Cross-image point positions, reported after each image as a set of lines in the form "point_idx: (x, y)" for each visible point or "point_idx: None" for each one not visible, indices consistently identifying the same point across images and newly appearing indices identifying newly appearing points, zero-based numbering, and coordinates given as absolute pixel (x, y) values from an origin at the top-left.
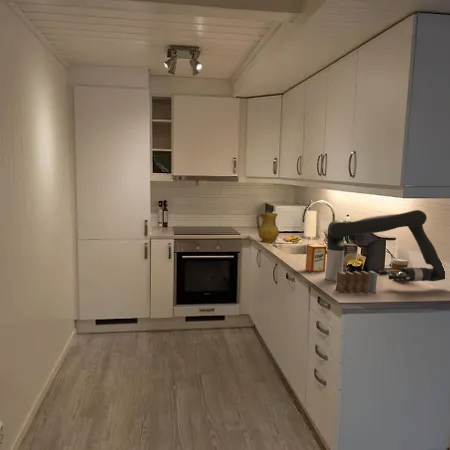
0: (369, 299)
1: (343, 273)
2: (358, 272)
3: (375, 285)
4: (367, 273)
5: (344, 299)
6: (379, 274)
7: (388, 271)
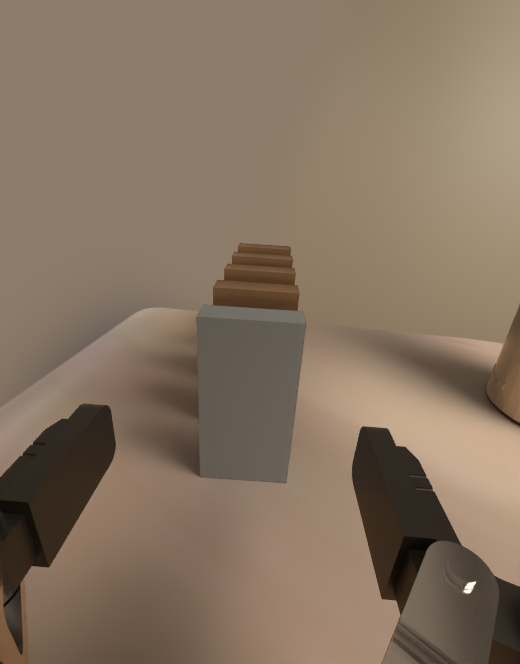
0: (100, 369)
1: (248, 246)
2: (257, 270)
3: (200, 421)
4: (216, 282)
5: (161, 317)
6: (355, 462)
7: (407, 609)
